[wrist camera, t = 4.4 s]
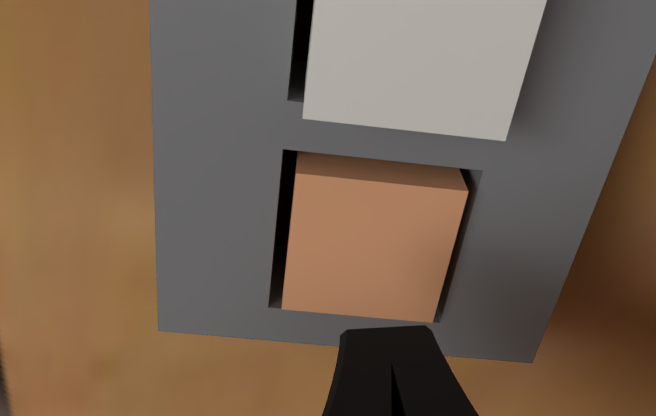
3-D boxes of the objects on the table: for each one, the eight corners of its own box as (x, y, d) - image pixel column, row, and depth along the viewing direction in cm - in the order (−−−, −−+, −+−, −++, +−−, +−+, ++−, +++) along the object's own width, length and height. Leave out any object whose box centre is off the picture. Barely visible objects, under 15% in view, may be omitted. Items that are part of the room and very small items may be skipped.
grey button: (474, 91, 12) (505, 141, 10) (306, 71, 12) (302, 118, 10) (522, -96, 11) (570, -82, 8) (326, -124, 10) (327, -116, 8)
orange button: (418, 260, 16) (432, 322, 14) (287, 247, 16) (281, 309, 13) (447, 140, 14) (468, 191, 12) (300, 124, 14) (295, 173, 12)
